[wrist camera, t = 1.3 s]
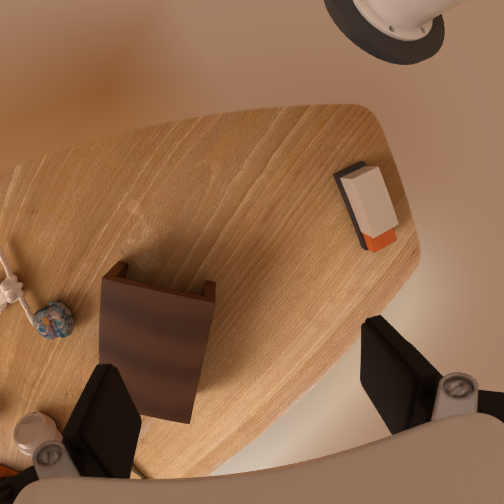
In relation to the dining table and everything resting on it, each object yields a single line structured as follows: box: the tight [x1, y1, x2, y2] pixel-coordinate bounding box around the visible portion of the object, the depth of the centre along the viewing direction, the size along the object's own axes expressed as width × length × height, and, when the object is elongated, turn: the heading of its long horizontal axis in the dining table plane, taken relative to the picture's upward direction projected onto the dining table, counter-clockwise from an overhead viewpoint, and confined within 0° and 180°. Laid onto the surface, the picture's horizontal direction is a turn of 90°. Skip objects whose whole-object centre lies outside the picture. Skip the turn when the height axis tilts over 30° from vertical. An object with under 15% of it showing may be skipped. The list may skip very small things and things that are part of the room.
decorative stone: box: [33, 301, 74, 340], centre depth 35 cm, size 6×4×5 cm
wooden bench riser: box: [99, 261, 216, 424], centre depth 35 cm, size 18×12×6 cm, turn 166°
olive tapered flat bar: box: [131, 464, 147, 479], centre depth 45 cm, size 12×2×1 cm, turn 25°
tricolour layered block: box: [333, 162, 399, 253], centre depth 34 cm, size 10×4×5 cm, turn 26°
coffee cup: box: [14, 412, 63, 458], centre depth 38 cm, size 10×10×15 cm
